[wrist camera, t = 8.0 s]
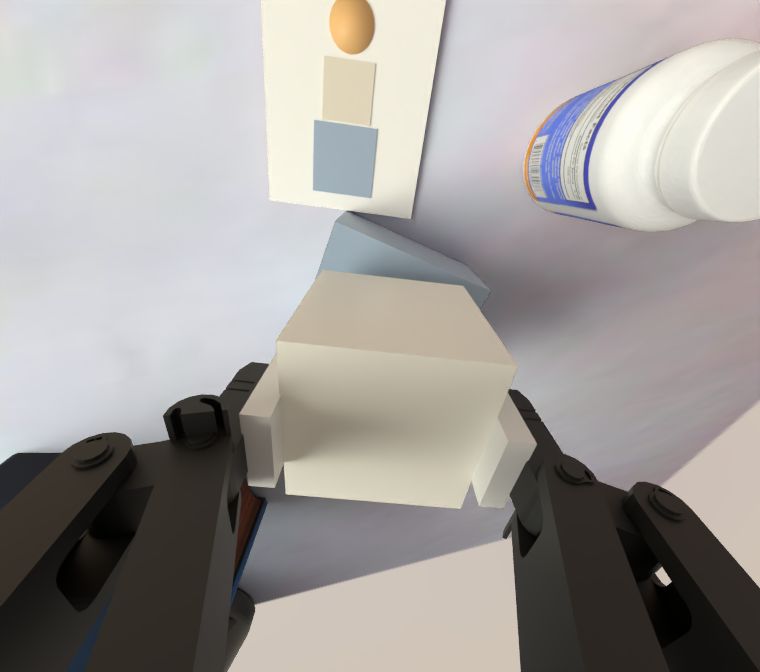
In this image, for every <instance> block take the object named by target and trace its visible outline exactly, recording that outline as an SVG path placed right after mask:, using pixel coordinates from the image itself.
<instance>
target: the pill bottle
mask: <svg viewBox="0 0 760 672" xmlns="http://www.w3.org/2000/svg"><path fill="white" fill-rule="evenodd" d="M523 179H524V184H525V187H526V189H527V192H528V194H529V195H530V197H531V198H532V199H533V201H534V202H535V203H536V204H537V205H539V206H540V207H542V208H543V209H545V210H547V211H550V212H553V213H556V214H560V215H565V216H571V217H576V218H580V219H585V220H589V221H594V222H598V223H603V224H607V225H612V226H616V227H621V228H626V229H631V230H636V231H642V232H660V231H667V230H672V229H676V228H680V227H683V226H686V225H689V224H691V223H694V222H696V221H698V220H707V221H719V222H746V221H752V220H757V219H760V43H757V42H754V41H751V40H745V39H723V40H716V41H711V42H707V43H703V44H700V45H697V46H694V47H692V48H689V49H687V50H684V51H682V52H679V53H677V54H675V55H672V56H670V57H668V58H666V59H663V60H661V61H659V62H656V63H654V64H652V65H649V66H647V67H645V68H643V69H640V70H638V71H636V72H633V73H631V74H629V75H626V76H624V77H622V78H619V79H617V80H614V81H612V82H610V83H607V84H605V85H602V86H600V87H597V88H595V89H593V90H590V91H588V92H586V93H583V94H581V95H578V96H576V97H574V98H572V99H570V100H568V101H566V102H565V103H563V104H562V105H560V106H559V107H557V108H556V109H555V110H553V111H552V112H551V113H550V114H549V115H548V116H547V117H546V118H545V119H544V120H543V121H542V122H541V124H540V125H539V126H538V128H537V129H536V130H535V132H534V134H533V135H532V137H531V139H530V141H529V144H528V146H527V149H526V152H525V156H524V160H523Z"/></svg>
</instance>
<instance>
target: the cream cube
mask: <svg viewBox="0 0 760 672" xmlns="http://www.w3.org/2000/svg"><path fill="white" fill-rule="evenodd" d="M276 350H277V366H278V382H279V395H281V407H282V429H283V451H284V475H285V491H286V494H288V495H300V496H312V497H324V498H336V499H348V500H360V501H371V502H383V503H395V504H407V505H419V506H431V507H443V508H455V509H461V506H462V504H463V501H464V499H465V497H466V494H467V492H468V489H469V487H470V484H471V482H472V481H471V479H472V477H473V475H474V472H475V470H476V467H477V465H478V463H479V460H480V458H481V456H482V453H483V451H484V448H485V446H486V444H487V441H488V439H489V437H490V434H491V432H492V429H493V427H494V425H495V422H496V420H497V417H498V415H499V413H500V410H501V408H502V405H503V403H504V400H505V398H506V395H507V393H508V390H509V388H510V385H511V383H512V380H513V378H514V375H515V373H516V371H517V368H518V365H517V363H516V362H515V361H514V359H513V358H512V356H511V355H510V353H509V352H508V350H507V349H506V347H505V346H504V344H503V343H502V342H501V340H500V339H499V337H498V336H497V334H496V333H495V331H494V330H493V328H492V327H491V326H490V324H489V323H488V321H487V320H486V318H485V317H484V315H483V314H482V312H481V311H480V309H479V308H478V307H477V305H476V304H475V302H474V301H473V299H472V298H471V296H470V295H469V293H468V292H467V290H466V289H465V288H464V286H460V285H451V284H443V283H434V282H425V281H416V280H408V279H399V278H390V277H381V276H372V275H364V274H355V273H346V272H337V271H329V270H322V271H321V272H320V274H319V275H318V277H317V278H316V280H315V281H314V283H313V284H312V286H311V288H310V289H309V291H308V292H307V294H306V295H305V297H304V298H303V300H302V301H301V303H300V305H299V306H298V308H297V309H296V311H295V312H294V314H293V315H292V317H291V318H290V320H289V321H288V323H287V325H286V326H285V328H284V329H283V331H282V332H281V334H280V335H279V337H278V338H277V340H276Z"/></svg>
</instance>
